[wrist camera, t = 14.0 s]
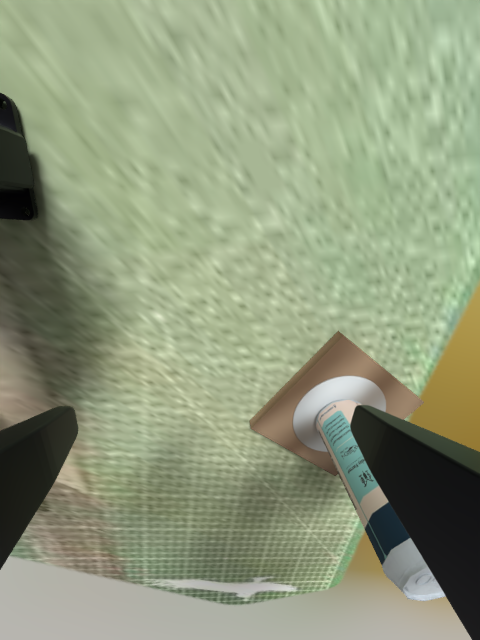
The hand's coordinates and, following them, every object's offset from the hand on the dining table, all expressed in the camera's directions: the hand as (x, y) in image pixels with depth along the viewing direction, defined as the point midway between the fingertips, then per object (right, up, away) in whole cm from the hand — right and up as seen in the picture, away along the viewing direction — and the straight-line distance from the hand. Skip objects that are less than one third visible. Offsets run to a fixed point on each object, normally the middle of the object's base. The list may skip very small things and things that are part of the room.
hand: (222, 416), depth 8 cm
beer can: (+10, -6, +16) cm, 20 cm away
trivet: (+10, -6, +17) cm, 21 cm away
